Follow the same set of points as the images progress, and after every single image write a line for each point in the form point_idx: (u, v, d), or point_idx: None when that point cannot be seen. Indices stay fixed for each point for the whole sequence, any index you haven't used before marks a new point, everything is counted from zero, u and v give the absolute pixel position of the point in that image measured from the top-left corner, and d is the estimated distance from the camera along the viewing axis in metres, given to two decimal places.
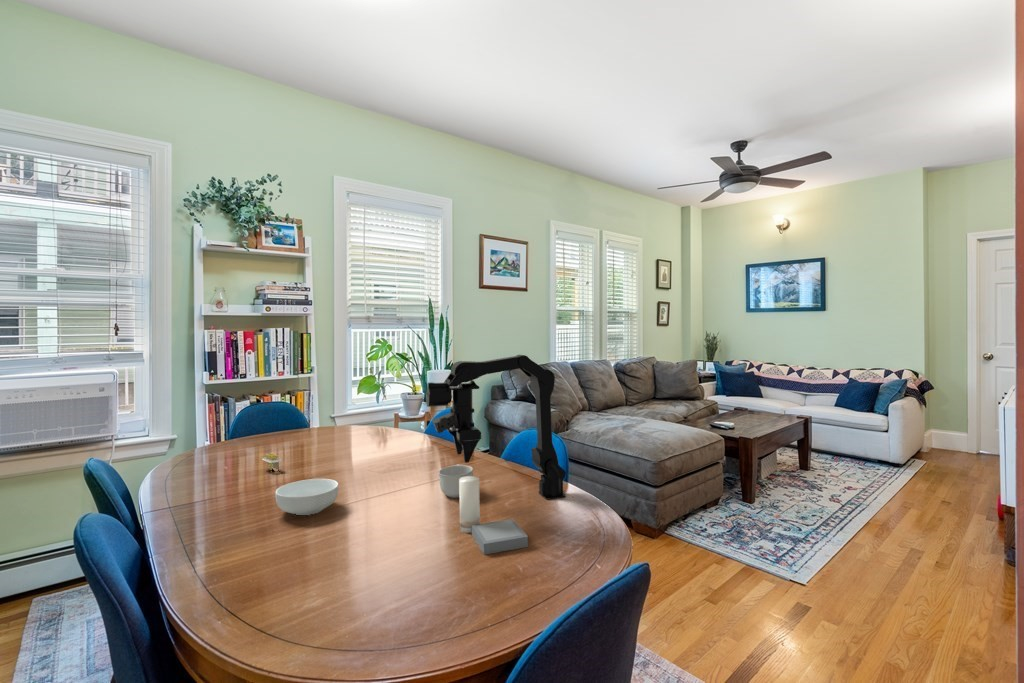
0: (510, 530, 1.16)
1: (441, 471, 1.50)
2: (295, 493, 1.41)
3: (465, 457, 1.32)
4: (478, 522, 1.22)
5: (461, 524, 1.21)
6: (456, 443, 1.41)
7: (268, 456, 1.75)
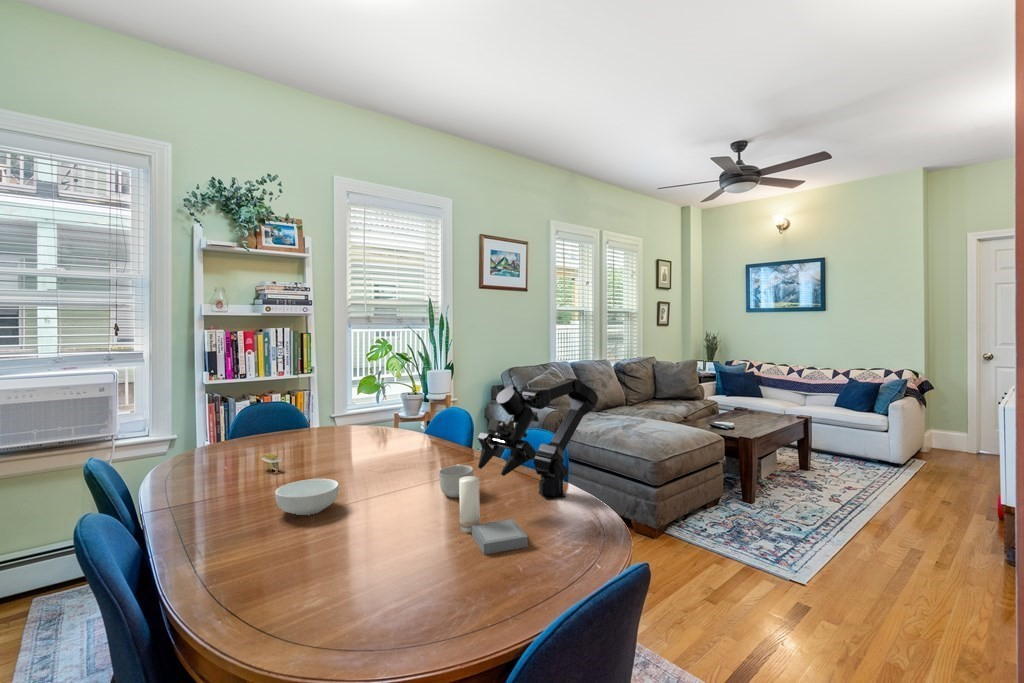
0: (510, 530, 1.16)
1: (441, 471, 1.50)
2: (295, 493, 1.41)
3: (506, 469, 1.25)
4: (478, 522, 1.22)
5: (461, 524, 1.21)
6: (483, 456, 1.33)
7: (268, 456, 1.75)
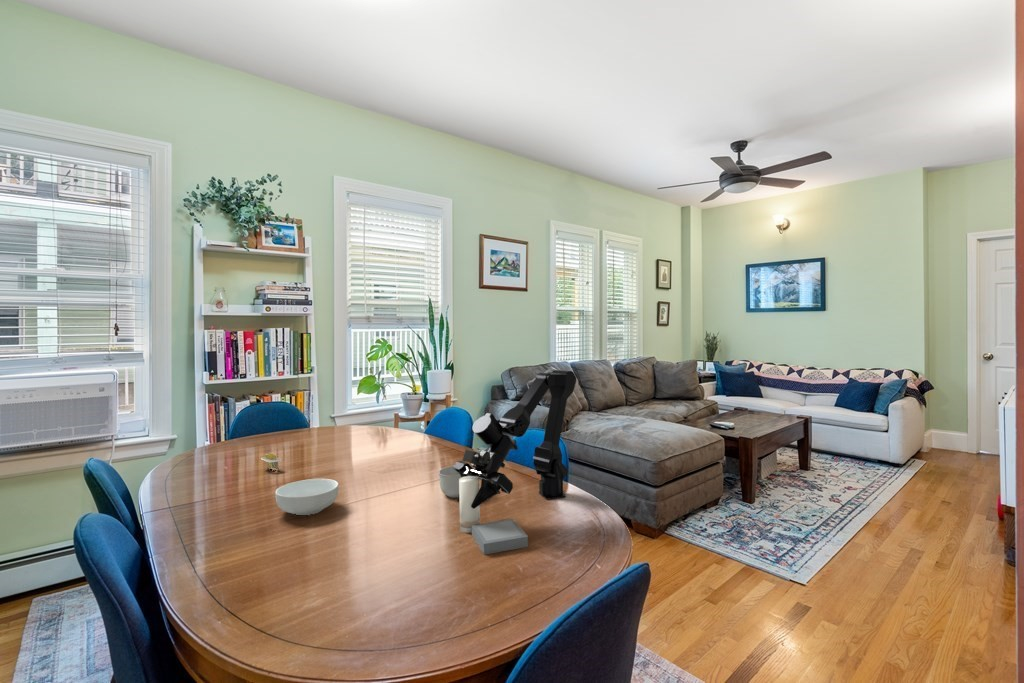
0: (510, 530, 1.16)
1: (441, 471, 1.50)
2: (295, 493, 1.41)
3: (476, 501, 1.20)
4: (478, 522, 1.22)
5: (461, 524, 1.21)
6: None
7: (267, 456, 1.75)
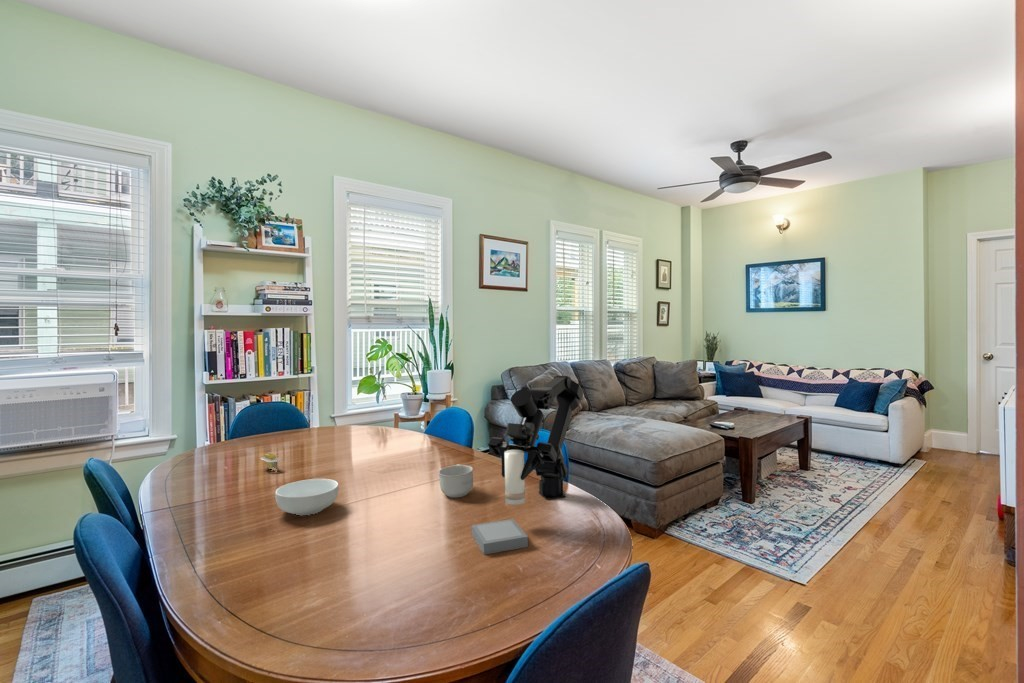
0: (510, 530, 1.16)
1: (441, 471, 1.50)
2: (295, 493, 1.41)
3: (525, 473, 1.22)
4: (524, 493, 1.24)
5: (509, 497, 1.22)
6: None
7: (267, 456, 1.75)
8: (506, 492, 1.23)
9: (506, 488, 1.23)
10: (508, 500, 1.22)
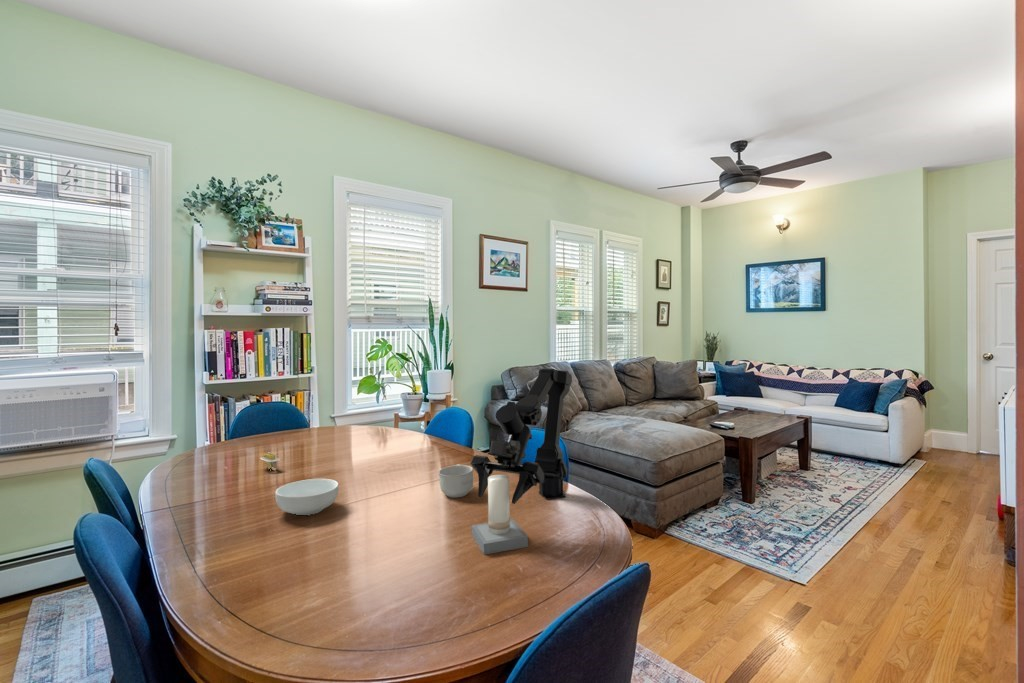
0: (510, 530, 1.16)
1: (441, 471, 1.50)
2: (295, 493, 1.41)
3: (516, 496, 1.13)
4: (509, 522, 1.16)
5: (493, 527, 1.14)
6: (482, 483, 1.18)
7: (266, 455, 1.76)
8: (489, 521, 1.14)
9: (489, 516, 1.14)
10: (491, 529, 1.14)
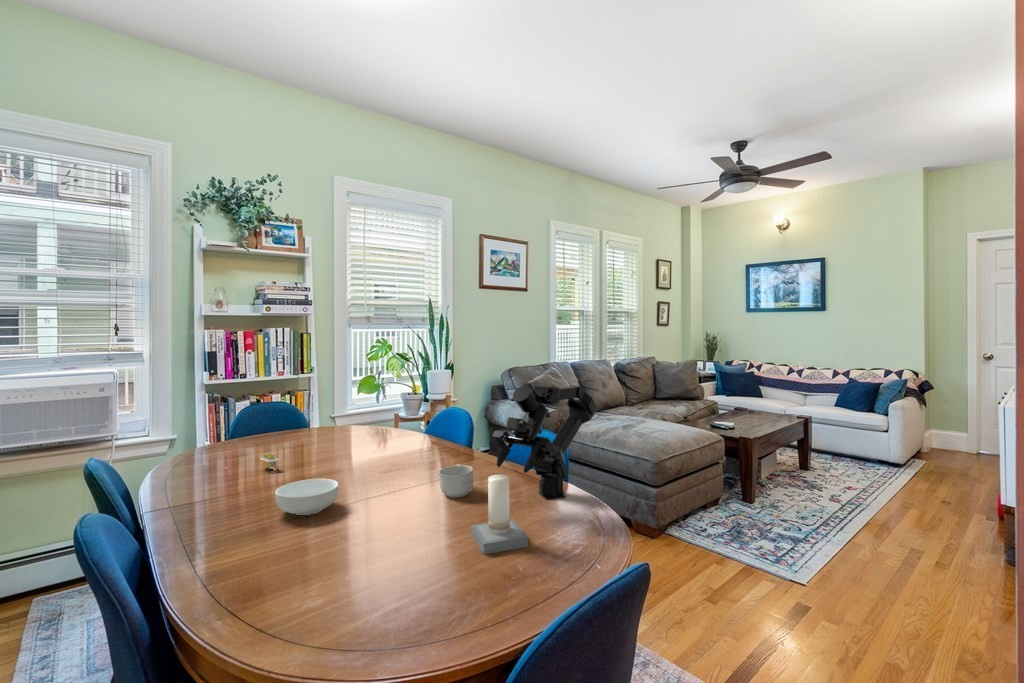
0: (510, 530, 1.16)
1: (441, 471, 1.50)
2: (295, 493, 1.41)
3: (528, 466, 1.27)
4: (509, 522, 1.16)
5: (493, 527, 1.14)
6: (501, 454, 1.34)
7: (266, 455, 1.76)
8: (489, 521, 1.14)
9: (490, 517, 1.14)
10: (492, 530, 1.14)
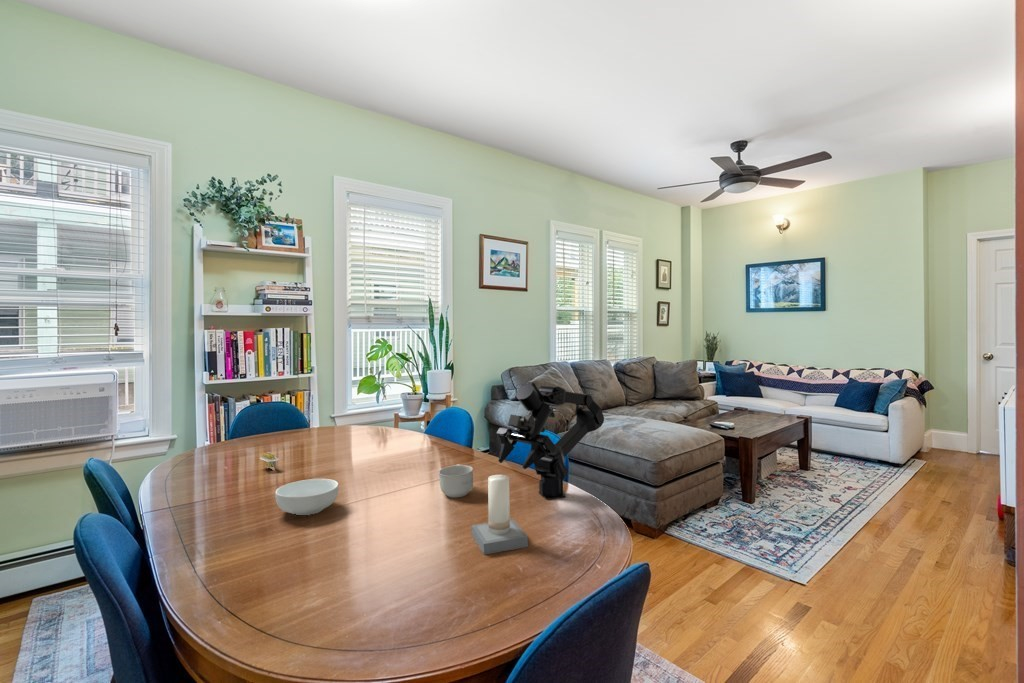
0: (510, 530, 1.16)
1: (441, 471, 1.50)
2: (295, 493, 1.41)
3: (527, 462, 1.30)
4: (509, 522, 1.16)
5: (493, 527, 1.14)
6: (503, 450, 1.37)
7: (265, 455, 1.76)
8: (489, 521, 1.14)
9: (490, 517, 1.14)
10: (492, 530, 1.14)
